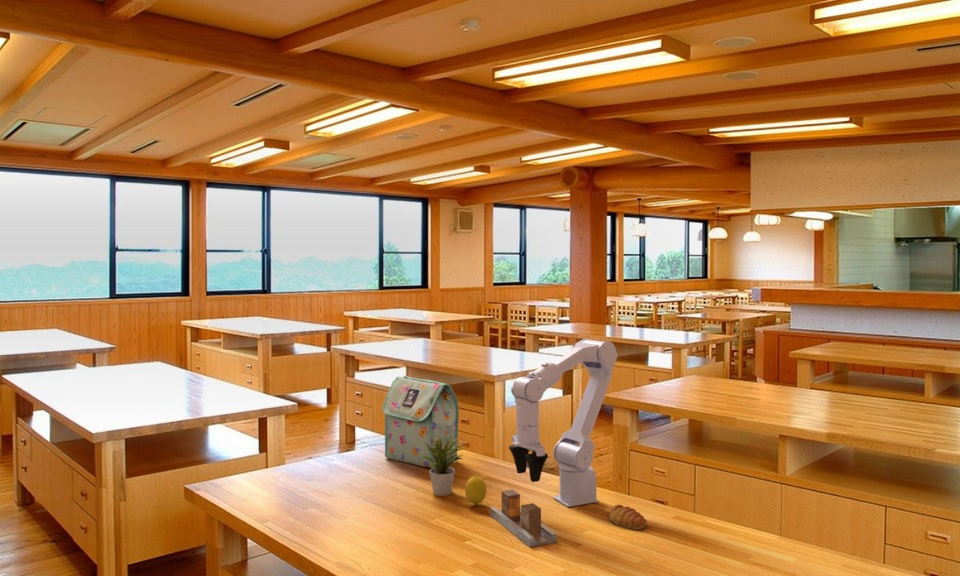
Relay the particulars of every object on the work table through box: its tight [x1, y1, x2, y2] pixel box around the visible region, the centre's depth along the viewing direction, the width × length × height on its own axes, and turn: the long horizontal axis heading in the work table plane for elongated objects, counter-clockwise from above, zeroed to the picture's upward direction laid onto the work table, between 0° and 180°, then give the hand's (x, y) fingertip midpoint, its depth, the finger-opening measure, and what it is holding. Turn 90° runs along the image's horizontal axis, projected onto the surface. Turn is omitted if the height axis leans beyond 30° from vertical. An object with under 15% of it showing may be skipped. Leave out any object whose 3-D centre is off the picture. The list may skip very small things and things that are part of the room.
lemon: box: [464, 475, 487, 506], centre depth 185 cm, size 6×6×8 cm
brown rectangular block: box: [501, 489, 521, 519], centre depth 175 cm, size 3×4×6 cm
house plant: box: [421, 435, 469, 497], centre depth 194 cm, size 14×14×16 cm
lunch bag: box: [381, 375, 460, 469], centre depth 227 cm, size 23×16×27 cm
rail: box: [489, 502, 558, 548], centre depth 169 cm, size 7×22×7 cm, turn 23°
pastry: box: [608, 504, 648, 531], centre depth 171 cm, size 9×7×4 cm
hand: (528, 476), depth 179 cm, fingers open, 7 cm apart
